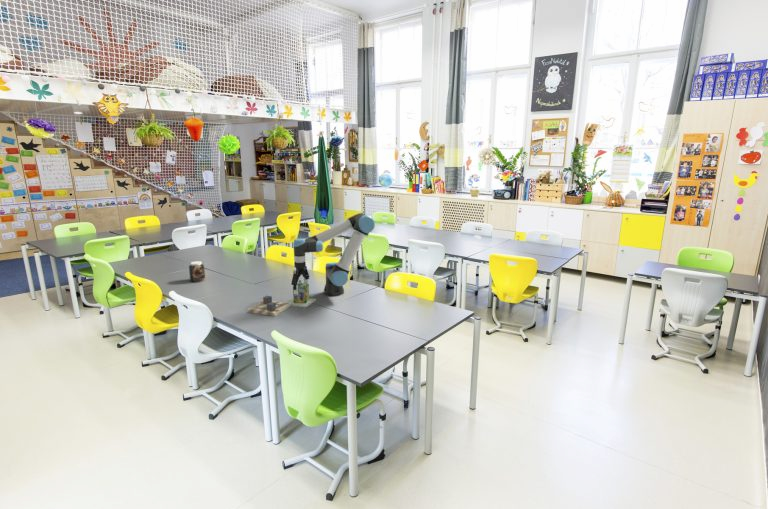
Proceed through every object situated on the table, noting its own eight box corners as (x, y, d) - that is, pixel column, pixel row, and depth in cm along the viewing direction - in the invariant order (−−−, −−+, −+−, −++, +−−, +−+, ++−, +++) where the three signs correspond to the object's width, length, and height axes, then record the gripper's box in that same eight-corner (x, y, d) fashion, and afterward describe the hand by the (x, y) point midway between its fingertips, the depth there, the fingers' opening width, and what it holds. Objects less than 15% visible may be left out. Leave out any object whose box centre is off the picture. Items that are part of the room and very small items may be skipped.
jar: (186, 281, 328) (184, 263, 325) (197, 277, 339) (195, 260, 335) (198, 283, 324) (196, 264, 321) (208, 279, 335) (207, 261, 332)
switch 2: (275, 308, 265) (275, 302, 264) (272, 310, 261) (272, 304, 260) (270, 307, 266) (270, 302, 265) (267, 310, 263) (266, 304, 262)
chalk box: (306, 303, 279) (305, 282, 276) (293, 302, 280) (292, 282, 277) (309, 298, 288) (309, 278, 285) (297, 298, 289) (296, 278, 286)
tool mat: (316, 300, 289) (316, 298, 288) (305, 307, 275) (305, 305, 275) (297, 297, 293) (297, 296, 293) (286, 304, 279) (286, 303, 279)
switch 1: (271, 301, 277) (271, 296, 276) (268, 303, 274) (268, 298, 273) (266, 301, 279) (266, 295, 278) (263, 303, 275) (263, 297, 274)
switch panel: (290, 306, 277) (290, 303, 276) (274, 316, 259) (274, 313, 259) (265, 302, 283) (265, 299, 282) (248, 312, 265) (248, 309, 265)
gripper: (304, 256, 290) (305, 285, 295) (285, 265, 267) (286, 296, 272) (313, 257, 288) (314, 286, 292) (295, 266, 265) (296, 297, 269)
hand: (301, 291), depth 282 cm, fingers open, 13 cm apart
